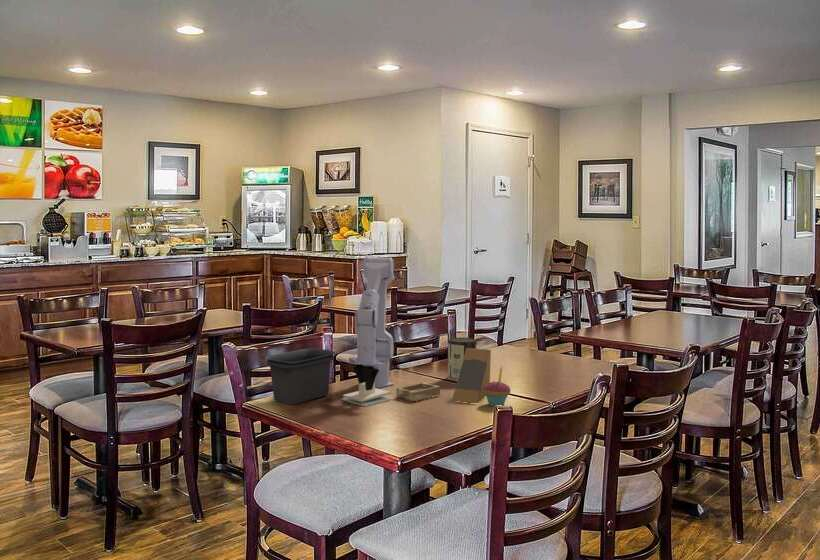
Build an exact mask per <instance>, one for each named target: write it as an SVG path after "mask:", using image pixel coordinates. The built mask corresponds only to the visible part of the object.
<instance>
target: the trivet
mask: <svg viewBox="0 0 820 560" xmlns="http://www.w3.org/2000/svg"><path fill="white" fill-rule="evenodd" d="M391 399H392V398H389V397H386V396H382V397H379V398H375V399H371V400H368V401H364V402H359V401H356V400H352V399H349V398H345V397H343V398H341V401H344V402H347V403H351V404H354V405H357V404H358V405H357V406H361V407H368V406H373V405H377V404H382V403H385V401H386V402H389V400H390V401H392V400H391ZM381 402H382V403H381Z"/></svg>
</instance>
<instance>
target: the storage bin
mask: <svg viewBox="0 0 820 560" xmlns="http://www.w3.org/2000/svg"><path fill="white" fill-rule="evenodd" d="M335 354H336V351H334V350H330V349H329V350H328V349H323V348H316V347H315V348H314V347H313V348H302V349H297V350H296V349H295V350H291V351H285V352H281V353H277V354H272V355H271V354H270V355H268V356H265V359H266V365H267V366H269V367H270V368H269V369H270V375H271V384H272V386H271V387H272V393H273V400H274V401H275V402H278V403H282V404H286V405H292V406H293V405H296V404H300V403H304V402H306V401H310V400H314V399H318V398H322V397H325V396H328V395H329V391H330V377H331V376H330V375H331V363H332V361H333V360H335V356H334V355H335Z"/></svg>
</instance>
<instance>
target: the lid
mask: <svg viewBox="0 0 820 560" xmlns="http://www.w3.org/2000/svg"><path fill="white" fill-rule="evenodd" d="M390 394H392V392H391V391H390V390H385V389H381V388H376V387H375V382H374V384H373V388H372V390H366V386H365V382H364V383H360V384H359V383H358V390H356V391H353V392H348V393H344V394H342V397H343V398H349V399H352V400H356V401H359V402H364V401H368V400H371V399H375V398H379V397H385V396H388V395H390Z"/></svg>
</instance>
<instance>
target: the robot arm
mask: <svg viewBox="0 0 820 560" xmlns="http://www.w3.org/2000/svg"><path fill="white" fill-rule="evenodd" d="M394 264H395V263H394V259H393V258H392V257H391V256H390V257H368V256H365V257H364V259H363V260H362V272H363V275H364V277H365V279H366V290H364V291H363V292H362V293H361V296H360V297H361V298H360V303H359V307H358V309H357V310H355V315H354V320H355V321H354V322H355V331H356V334H357V335H356V336H357V339H356V342H357V347H356V353H357V354H356V356H351V357H348V364H351V365H355V366H353V367H352V369H353V372H354V373H355V375H356V378H357V380H358V385H359V384H360V383H364V382H365V386H366V390H372V388H373V384H374V382H375V388H377V389H381V388H384V387H388V386H393V385H395V383H394V382H390V359H392V358H393V356H394V351H395V349H394V348H395V347H394V338H393V335H392V334H391V333H389V332H388V331H387V330H386V325H387V324H386V318H387V317H386V316H387V315H386V314H387V288H388V286H389V285H388V284H389V283H391V282H393V279H394V268H395V267H394V266H395V265H394Z"/></svg>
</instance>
